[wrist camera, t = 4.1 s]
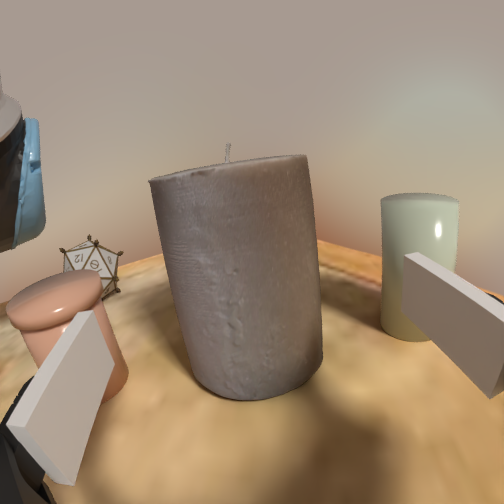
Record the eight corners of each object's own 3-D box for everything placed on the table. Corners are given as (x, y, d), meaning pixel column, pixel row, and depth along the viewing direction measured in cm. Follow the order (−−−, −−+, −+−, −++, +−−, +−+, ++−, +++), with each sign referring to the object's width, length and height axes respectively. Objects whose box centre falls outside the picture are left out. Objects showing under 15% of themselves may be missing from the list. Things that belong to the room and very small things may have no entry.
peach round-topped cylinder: (39, 381, 21) (0, 298, 19) (106, 343, 27) (78, 263, 24) (70, 428, 17) (14, 328, 14) (151, 375, 22) (117, 279, 20)
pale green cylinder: (370, 333, 23) (370, 207, 20) (391, 299, 28) (391, 191, 24) (442, 347, 20) (457, 212, 16) (451, 308, 24) (460, 195, 21)
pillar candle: (314, 320, 27) (296, 138, 23) (333, 394, 17) (317, 124, 13) (203, 331, 28) (170, 157, 24) (177, 405, 18) (114, 157, 14)
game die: (106, 319, 40) (101, 251, 43) (142, 305, 36) (135, 227, 39) (48, 316, 32) (47, 240, 35) (76, 299, 28) (74, 211, 31)
